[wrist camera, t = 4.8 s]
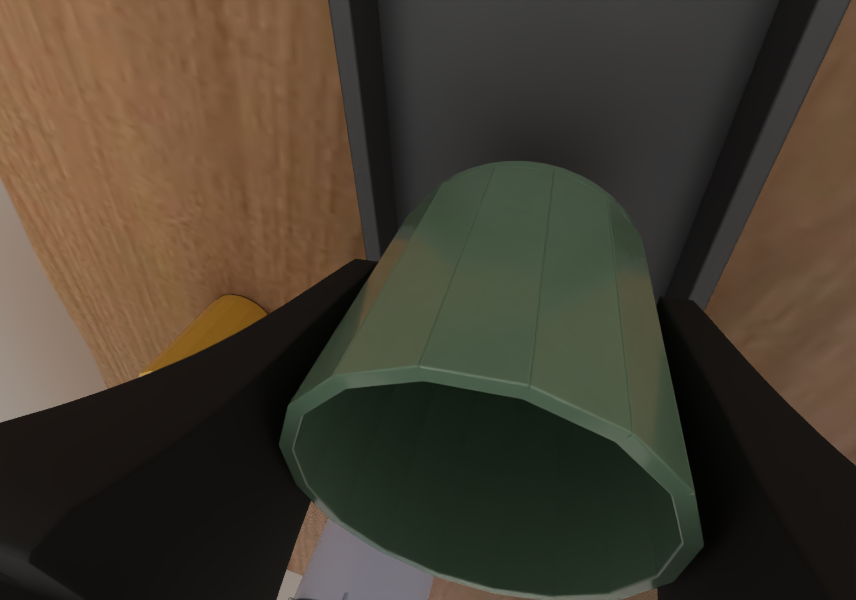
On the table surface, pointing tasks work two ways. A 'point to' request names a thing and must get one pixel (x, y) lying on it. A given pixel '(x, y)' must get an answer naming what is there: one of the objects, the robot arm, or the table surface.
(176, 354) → the mustard cup
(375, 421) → the green cup
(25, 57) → the table surface
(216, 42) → the table surface
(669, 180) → the tray
